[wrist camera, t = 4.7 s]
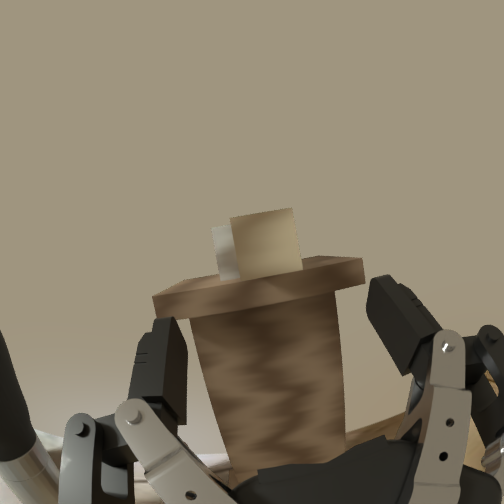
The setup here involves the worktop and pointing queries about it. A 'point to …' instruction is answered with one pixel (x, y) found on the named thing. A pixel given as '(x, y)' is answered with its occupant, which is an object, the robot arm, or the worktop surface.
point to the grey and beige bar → (257, 246)
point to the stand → (271, 360)
